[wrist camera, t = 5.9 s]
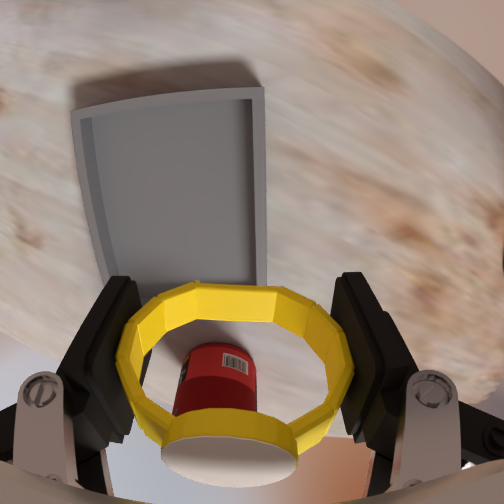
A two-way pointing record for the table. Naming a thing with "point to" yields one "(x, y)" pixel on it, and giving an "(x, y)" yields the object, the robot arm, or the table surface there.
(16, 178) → the table surface
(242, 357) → the canned food
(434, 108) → the table surface
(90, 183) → the tray
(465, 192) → the table surface
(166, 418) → the watch
